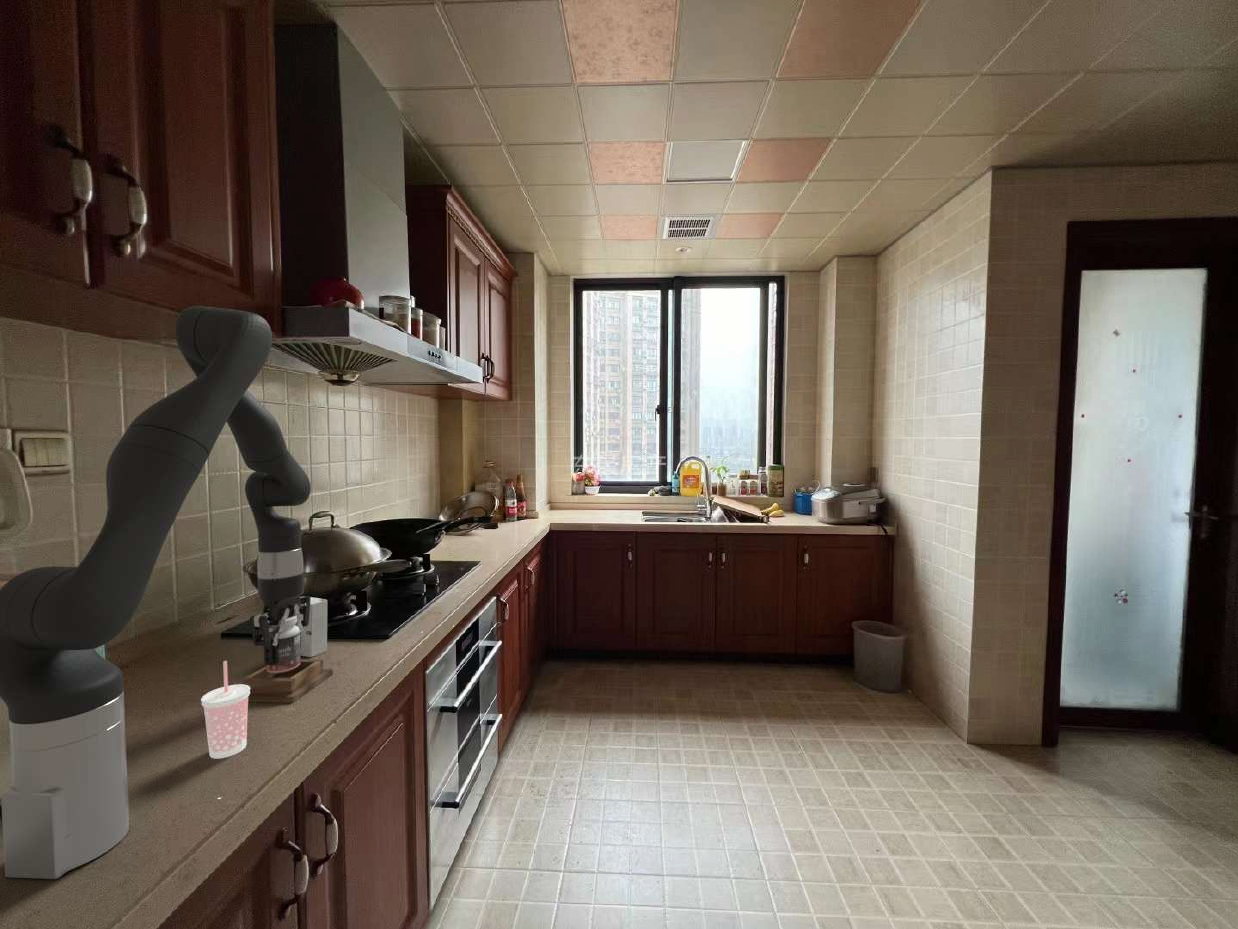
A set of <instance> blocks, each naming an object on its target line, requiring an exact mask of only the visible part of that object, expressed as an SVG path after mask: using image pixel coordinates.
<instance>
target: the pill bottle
mask: <svg viewBox="0 0 1238 929" xmlns="http://www.w3.org/2000/svg"><path fill="white" fill-rule="evenodd" d="M296 622H297V616H291V617H289V618H287V619H286V620H285V626H284V630H283V632H282V633H280V636H279V640H278V643H277V645H278V657H279V662H278V664H276V665H266V664H265V666H266V670H267V671H268V672H269V673H283V672H287V671H290V670H293V669H295V668H297V667H298V666H299V665H300V659H301V655H300V629H299V628H298V627H297V626H295V624H296ZM277 626H278V625H270V624H269V627H270V628H277ZM272 637H273V633H271V634H270V638H271V639H272Z"/></svg>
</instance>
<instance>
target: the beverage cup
mask: <svg viewBox="0 0 1238 929" xmlns="http://www.w3.org/2000/svg"><path fill="white" fill-rule="evenodd" d="M222 664H223V666H222V668H223V686H222V687H219V688H218V687H217V688H216V689H213V690H211V691H208V692H207V693H205V694H204V695H202V697H201V699H200V701H201V706H202V707H203V709H204V711H203V712H204V718H205V719H204V721H205V727H206V735H207V736H206V738H207V744H208V754H209V757H210V758H211V759H223V758H228V757H231V756H234V755H236V754H238V753H240V752H243V750H244V749H246V747H247V735H248V714H249V713H248V711H249V702H248V696H249V694H250V687H249V686H248V685H244V684H242V683H241V684H232V685H229V677H228V660H224V661H223V662H222Z"/></svg>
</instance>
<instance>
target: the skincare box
mask: <svg viewBox="0 0 1238 929" xmlns="http://www.w3.org/2000/svg"><path fill="white" fill-rule="evenodd" d="M309 597H310V598H311V599H310V613H309V624H308V626H304V627H303V631H302V632H301V650H300V656H303V657H307V658H313V657H316V656H318V655H321V654H324V653H325V652H327V650H328V600H327V599H324V598H319V597H311V596H309ZM300 615H301V617H302V620H303V614H300Z"/></svg>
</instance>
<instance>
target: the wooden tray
mask: <svg viewBox="0 0 1238 929" xmlns="http://www.w3.org/2000/svg"><path fill="white" fill-rule="evenodd" d="M333 670H334V669H332V668H331V669H330V668H329V669H327V668H326V669H325V668H324V659H303V658H302V659H301V658H300V665H299V666H298V667H297V668H295V669H293V670H290V671H287V672H283V673H269V672H268V671H267V670H266V665H265V666H264V667H261V668H260V669H259V670H257V671H254V672H253V673H251V674H250V675H248V676H246V677H244V678H243V679H242V680H241V684H244V685H248V686H249V687H250V694H249V696H248V703H249V702H250V703H251V702H254V703H255V702H256V703H257V702H258V703H295V702H296V701H298V700H300V699H301V698H302V697H303V696H305V695H306V694H307V693H309V692H310V691H311V690H313V689H314V688H316V687H317V686H318V685H321V683H323V682H324V681H325V680H327V679H328V678H330V677H331V676H332V675H333V674H334V673H333Z"/></svg>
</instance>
